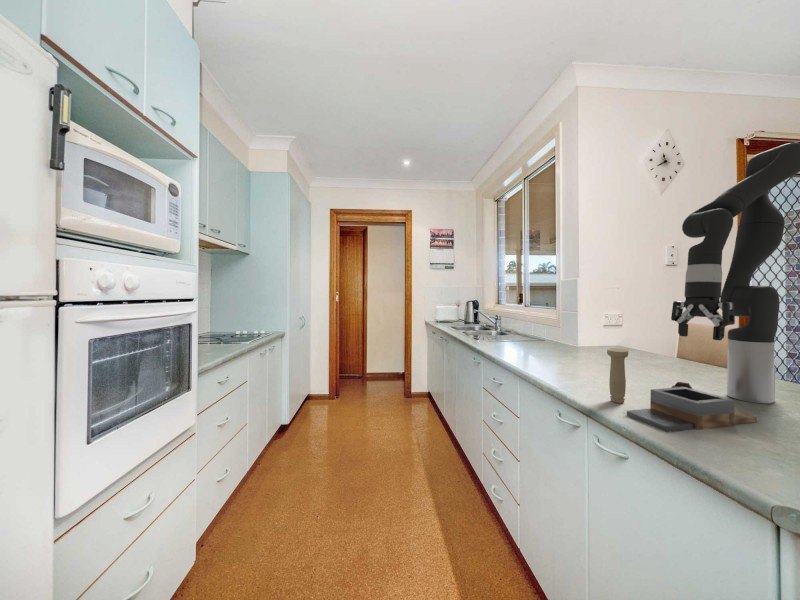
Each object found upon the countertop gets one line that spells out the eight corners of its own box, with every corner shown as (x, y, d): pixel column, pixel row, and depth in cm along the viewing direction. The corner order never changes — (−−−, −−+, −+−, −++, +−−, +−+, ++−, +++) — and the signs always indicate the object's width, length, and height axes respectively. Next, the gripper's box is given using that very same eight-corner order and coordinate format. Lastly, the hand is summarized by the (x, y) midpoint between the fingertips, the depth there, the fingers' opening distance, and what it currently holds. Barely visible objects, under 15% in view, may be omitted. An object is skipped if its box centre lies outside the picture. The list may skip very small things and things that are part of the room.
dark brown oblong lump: (687, 400, 98) (682, 410, 88) (669, 389, 101) (662, 398, 91) (700, 385, 96) (696, 394, 86) (681, 374, 99) (675, 382, 89)
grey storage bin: (683, 408, 85) (684, 386, 85) (734, 425, 75) (734, 400, 74) (624, 414, 82) (625, 391, 81) (668, 432, 71) (669, 406, 71)
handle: (629, 401, 92) (629, 349, 92) (625, 406, 87) (625, 352, 87) (610, 397, 95) (610, 347, 95) (604, 402, 91) (605, 350, 90)
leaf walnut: (707, 406, 87) (707, 395, 87) (759, 422, 76) (760, 410, 76) (650, 412, 83) (650, 400, 83) (697, 429, 72) (697, 416, 72)
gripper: (744, 281, 84) (740, 342, 84) (686, 283, 98) (682, 335, 98) (722, 279, 82) (719, 341, 82) (666, 281, 96) (663, 334, 96)
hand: (699, 338), depth 90 cm, fingers open, 8 cm apart
